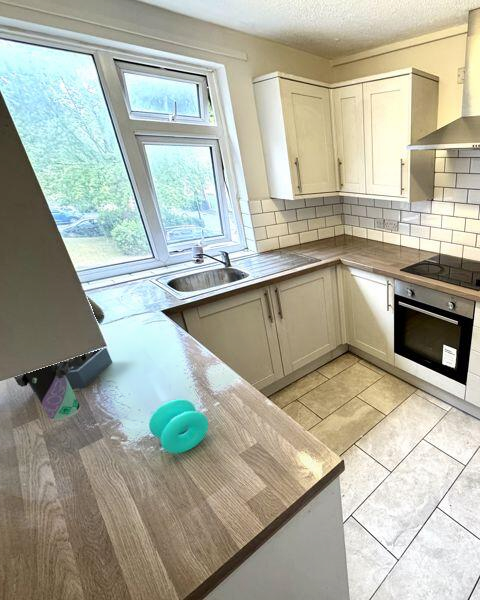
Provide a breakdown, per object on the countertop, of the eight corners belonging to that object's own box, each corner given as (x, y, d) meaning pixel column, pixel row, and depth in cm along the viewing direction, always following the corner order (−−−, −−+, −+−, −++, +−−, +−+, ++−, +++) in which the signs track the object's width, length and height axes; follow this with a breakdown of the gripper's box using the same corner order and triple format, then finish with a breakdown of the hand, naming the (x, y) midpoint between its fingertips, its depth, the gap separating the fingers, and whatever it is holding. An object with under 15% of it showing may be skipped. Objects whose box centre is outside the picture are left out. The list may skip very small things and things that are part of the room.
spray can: (50, 425, 75) (10, 352, 67) (49, 413, 79) (10, 342, 71) (82, 413, 79) (47, 342, 71) (79, 402, 83) (46, 333, 74)
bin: (33, 392, 98) (24, 376, 96) (67, 366, 110) (59, 350, 108) (85, 387, 100) (77, 371, 98) (112, 362, 112) (106, 347, 110)
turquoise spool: (170, 464, 76) (157, 432, 72) (154, 443, 81) (141, 412, 77) (214, 437, 83) (205, 406, 79) (196, 419, 89) (187, 390, 84)
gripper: (18, 337, 80) (-16, 374, 67) (94, 324, 87) (77, 355, 74) (31, 362, 83) (2, 403, 70) (104, 348, 90) (89, 382, 77)
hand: (40, 378), depth 72 cm, fingers closed on spray can, 5 cm apart
